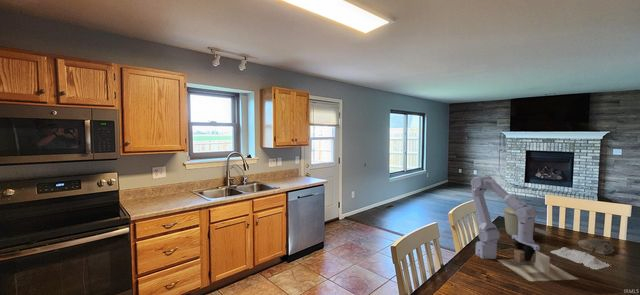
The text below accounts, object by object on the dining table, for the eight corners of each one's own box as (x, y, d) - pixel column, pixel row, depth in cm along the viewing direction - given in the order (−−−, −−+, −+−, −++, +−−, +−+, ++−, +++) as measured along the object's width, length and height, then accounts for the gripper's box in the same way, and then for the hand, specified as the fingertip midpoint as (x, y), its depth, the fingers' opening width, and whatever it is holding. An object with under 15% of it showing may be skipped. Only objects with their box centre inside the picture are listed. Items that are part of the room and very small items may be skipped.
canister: (543, 241, 172) (544, 208, 171) (514, 241, 172) (515, 208, 171) (522, 231, 190) (523, 200, 189) (496, 231, 190) (496, 200, 189)
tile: (546, 273, 131) (547, 257, 131) (534, 266, 138) (534, 251, 138) (549, 273, 131) (550, 257, 131) (537, 266, 138) (537, 250, 138)
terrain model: (561, 250, 163) (561, 242, 163) (615, 266, 142) (615, 256, 142) (545, 255, 156) (545, 246, 156) (599, 272, 135) (599, 262, 135)
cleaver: (561, 241, 173) (572, 239, 176) (561, 240, 173) (572, 238, 176) (516, 226, 201) (526, 224, 204) (516, 225, 201) (526, 224, 204)
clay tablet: (590, 241, 173) (574, 246, 164) (591, 233, 172) (574, 238, 164) (622, 250, 160) (606, 256, 152) (623, 242, 160) (607, 248, 151)
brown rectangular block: (519, 263, 132) (519, 253, 132) (513, 259, 135) (514, 249, 135) (535, 262, 132) (535, 252, 132) (529, 259, 136) (529, 249, 136)
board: (529, 283, 125) (529, 280, 125) (496, 261, 146) (496, 259, 146) (579, 281, 127) (579, 278, 126) (539, 260, 147) (540, 257, 147)
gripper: (546, 236, 126) (545, 265, 127) (521, 225, 141) (520, 252, 141) (531, 237, 126) (530, 266, 126) (508, 226, 140) (507, 252, 141)
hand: (524, 258), depth 134 cm, fingers closed on brown rectangular block, 3 cm apart
